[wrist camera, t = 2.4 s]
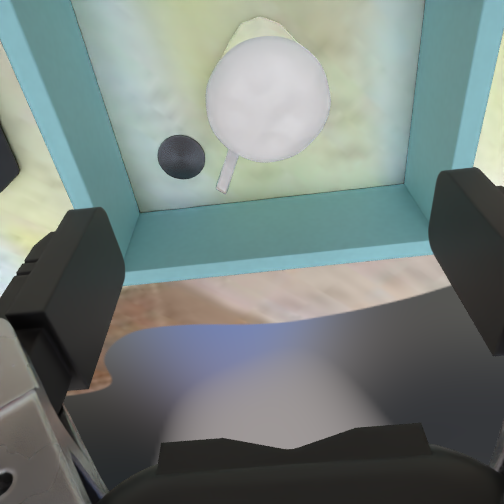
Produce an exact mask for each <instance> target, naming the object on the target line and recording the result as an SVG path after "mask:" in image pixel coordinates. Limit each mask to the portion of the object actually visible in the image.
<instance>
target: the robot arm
mask: <svg viewBox="0 0 504 504" xmlns="http://www.w3.org/2000/svg"><path fill="white" fill-rule="evenodd" d="M428 238H429V244H430V247H431V250H432V252H433V254H434V256H435V257H436V259H437V261H438V262H439V264H440V266H441V268H442V269H443V271H444V273H445V274H446V276H447V278H448V280H449V281H450V283H451V285H452V286H453V288H454V290H455V292H456V293H457V295H458V297H459V298H460V300H461V302H462V303H463V305H464V307H465V309H466V310H467V312H468V314H469V316H470V317H471V319H472V321H473V322H474V324H475V326H476V328H477V329H478V331H479V333H480V334H481V336H482V337H483V340H484V341H485V343H486V345H487V346H488V348H489V350H490V351H491V353H492V355H493V356H501V355H504V187H503V186H495V185H494V184H493V183H492V182H491V181H490V180H489V179H488V178H487V177H486V176H485V175H484V173H483V172H482V171H481V170H480V169H478V168H476V167H472V168H463V169H453V170H444V171H441V172H440V173H439V174H438V177H437V180H436V185H435V191H434V197H433V203H432V209H431V214H430V220H429V227H428ZM24 261H25V263H24V264H22V265H21V267H20V268H19V270H18V271H17V276H14V277H13V279H12V281H11V282H10V284H9V285H8V287H7V288H6V290H5V291H4V293H3V294H2V296H1V298H0V504H504V420H503V423H502V427H501V430H500V434H499V437H498V440H497V443H496V446H495V449H494V452H493V455H492V457H491V460H490V463H489V465H486V464H484V463H482V462H480V461H478V460H476V459H474V458H472V457H470V456H467V455H465V454H462V453H459V452H457V451H455V450H452V449H448V448H445V447H441V446H438V445H433V444H428V441H427V438H426V435H425V433H424V430H423V427H422V424H421V423H412V424H399V425H386V426H374V427H361V428H354V429H351V430H348V431H345V432H343V433H339V434H337V435H334V436H331V437H328V438H325V439H322V440H319V441H316V442H313V443H311V444H308V445H305V446H302V447H299V448H295V449H280V448H275V447H270V446H264V445H259V444H253V443H247V442H242V441H237V440H231V439H225V438H220V439H206V440H193V441H180V442H167V443H161V448H160V455H159V460H158V464H157V465H154V466H151V467H149V468H147V469H145V470H143V471H140V472H138V473H136V474H134V475H133V476H131V477H130V478H128V479H126V480H125V481H123V482H122V483H120V484H119V485H118V486H116V487H115V488H114V489H112V490H111V491H110V492H109V491H108V489H107V487H106V486H105V484H104V482H103V481H102V479H101V477H100V475H99V473H98V471H97V470H96V468H95V465H94V463H93V461H92V460H91V457H90V455H89V453H88V451H87V449H86V447H85V446H84V443H83V441H82V439H81V437H80V435H79V433H78V431H77V429H76V427H75V425H74V423H73V421H72V419H71V417H70V415H69V413H68V411H67V409H66V407H65V406H64V404H63V401H64V399H65V396H66V393H67V391H71V390H82V389H89V386H90V383H91V380H92V377H93V374H94V371H95V368H96V365H97V362H98V359H99V356H100V353H101V350H102V347H103V344H104V341H105V338H106V335H107V332H108V329H109V326H110V323H111V320H112V317H113V314H114V311H115V307H116V304H117V301H118V298H119V295H120V292H121V289H122V286H123V283H124V280H125V263H124V258H123V255H122V253H121V250H120V247H119V245H118V242H117V239H116V237H115V234H114V231H113V229H112V226H111V223H110V221H109V218H108V215H107V213H106V211H105V210H104V209H103V208H102V207H92V208H83V209H74V210H69V211H68V212H67V213H66V215H65V216H64V218H63V220H62V221H61V223H60V225H59V226H58V228H57V230H56V231H55V232H50V233H49V234H48V235H47V236H45V237H44V238H43V239H42V240H40V241H39V242H38V243H37V244H36V245H34V247H33V248H32V250H31V251H30V253H29V254H28V256H27V257H26V259H25V260H24Z"/></svg>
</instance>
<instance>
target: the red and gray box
mask: <svg viewBox="0 0 504 504" xmlns="http://www.w3.org/2000/svg"><path fill="white" fill-rule="evenodd" d="M18 174H19V167H18V165H17V162H16V160H15V158H14V156H13V153H12V151H11V149H10V147H9V145H8V142H7V140H6V138H5V136H4V133H3V131H2V129H1V127H0V193H1V192H2V191H3V190H4V189H5V188H6V187H7V186H8V185H9V184H10V183H11V182H12V181H13V179H14V178H15V177H16V176H17V175H18Z"/></svg>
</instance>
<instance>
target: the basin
mask: <svg viewBox="0 0 504 504" xmlns="http://www.w3.org/2000/svg"><path fill="white" fill-rule="evenodd" d="M503 30H504V0H426V1H425V10H424V18H423V27H422V35H421V44H420V52H419V61H418V69H417V78H416V86H415V95H414V103H413V112H412V120H411V129H410V137H409V146H408V154H407V163H406V171H405V180H404V184H399V185H390V186H381V187H372V188H363V189H354V190H345V191H336V192H327V193H318V194H309V195H300V196H291V197H282V198H273V199H264V200H255V201H246V202H237V203H228V204H219V205H210V206H201V207H192V208H183V209H174V210H165V211H156V212H147V213H140V212H139V209H138V206H137V203H136V199H135V196H134V193H133V190H132V187H131V184H130V181H129V178H128V175H127V172H126V169H125V166H124V163H123V160H122V157H121V154H120V151H119V148H118V145H117V142H116V138H115V135H114V132H113V129H112V126H111V123H110V120H109V117H108V114H107V111H106V108H105V105H104V102H103V99H102V96H101V93H100V90H99V87H98V84H97V81H96V78H95V74H94V71H93V68H92V65H91V62H90V59H89V56H88V53H87V50H86V47H85V44H84V41H83V38H82V35H81V32H80V29H79V26H78V23H77V20H76V17H75V13H74V10H73V7H72V4H71V1H70V0H0V40H1V43H2V45H3V47H4V50H5V52H6V54H7V56H8V59H9V61H10V63H11V66H12V68H13V70H14V72H15V75H16V77H17V79H18V82H19V84H20V86H21V88H22V91H23V93H24V95H25V98H26V100H27V102H28V104H29V107H30V109H31V111H32V114H33V116H34V118H35V120H36V123H37V125H38V127H39V130H40V132H41V134H42V136H43V139H44V141H45V143H46V146H47V148H48V150H49V152H50V155H51V157H52V159H53V162H54V164H55V166H56V168H57V171H58V173H59V175H60V178H61V180H62V182H63V184H64V187H65V189H66V191H67V194H68V196H69V198H70V200H71V203H72V205H73V207H74V209H83V208H92V207H102V208H103V209H104V210H105V211H106V213H107V215H108V218H109V221H110V223H111V226H112V229H113V231H114V234H115V237H116V239H117V242H118V245H119V247H120V250H121V253H122V255H123V258H124V263H125V280H124V283H123V286H129V285H139V284H149V283H158V282H168V281H178V280H188V279H197V278H207V277H217V276H227V275H237V274H246V273H256V272H266V271H276V270H286V269H295V268H305V267H315V266H325V265H335V264H344V263H354V262H364V261H374V260H384V259H393V258H403V257H413V256H423V255H432V254H433V252H432V250H431V247H430V244H429V238H428V227H429V220H430V214H431V209H432V203H433V197H434V191H435V185H436V180H437V177H438V174H439V173H440V172H441V171H444V170H453V169H463V168H472V167H473V164H474V160H475V155H476V151H477V146H478V142H479V137H480V133H481V128H482V124H483V119H484V115H485V110H486V106H487V101H488V97H489V93H490V88H491V84H492V79H493V75H494V70H495V66H496V61H497V57H498V52H499V48H500V43H501V39H502V34H503ZM158 161H159V164H160V166H161V167H162V169H163V170H164V171H165V172H166V173H167V174H169V175H170V176H172V177H174V178H178V179H189V178H192V177H194V176H196V175H197V174H199V173H200V172H201V170H202V169H203V167H204V163H205V154H204V151H203V149H202V147H201V146H200V145H199V143H198V142H196V141H195V140H194V139H192V138H190V137H187V136H183V135H176V136H172V137H169V138H167V139H166V140H165V141H164V142H163V143H162V144H161V145H160V147H159V150H158Z"/></svg>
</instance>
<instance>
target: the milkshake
mask: <svg viewBox="0 0 504 504" xmlns="http://www.w3.org/2000/svg"><path fill="white" fill-rule="evenodd" d="M330 103H331V99H330V91H329V85H328V81H327V78H326V74H325V72H324V69H323V67H322V66H321V64H320V62H319V61H318V60H317V58H316V57H315V56H314V55H313V54H312V53H311V52H310V51H309V50H307V49H306V48H305V47H304V46H303V45H301V44H300V43H299V42H298V41H297V40H295V39H294V37H293V36H292V35H291V34H290V33H289V32H288V31H287V30H286V29H285V28H284V27H283V26H282V25H281V24H280V23H279V22H276V21H273V20H270V19H267V18H264V17H262V16H259V17H256V18H254V19H251V20H249V21H246V22H243V23H241V24H240V25H239V27H238V29H237V30H236V32H235V33H234V35H233V37H232V38H231V40H230V41H229V43H228V45H227V48H226V50H225V52H224V54H223V56H222V57H221V59H220V60H219V62H218V64H217V65H216V67H215V68H214V70H213V72H212V74H211V76H210V78H209V81H208V84H207V89H206V108H207V115H208V120H209V123H210V126H211V128H212V130H213V132H214V134H215V135H216V137H217V138H218V139H219V140H220V141H221V142H222V143H223V144H224V145H225V146H226V147H227V148H228V149H229V150H228V153H227V156H226V159H225V162H224V165H223V167H222V170H221V173H220V176H219V179H218V182H217V185H216V189H217V190H219V191H220V192H222V193H224V194H226V193H227V190H228V187H229V184H230V181H231V178H232V175H233V172H234V169H235V166H236V163H237V160H238V157H239V156H241V157H244V158H246V159H249V160H252V161H256V162H274V161H279V160H283V159H286V158H289V157H292V156H294V155H296V154H298V153H300V152H301V151H302V150H304V149H305V148H306V147H307V146H308V145H309V144H310V143H311V142H312V141H313V140H314V139H315V138H316V137H317V135H318V134H319V133H320V132H321V130H322V129H323V127H324V125H325V123H326V121H327V118H328V115H329V111H330Z"/></svg>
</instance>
